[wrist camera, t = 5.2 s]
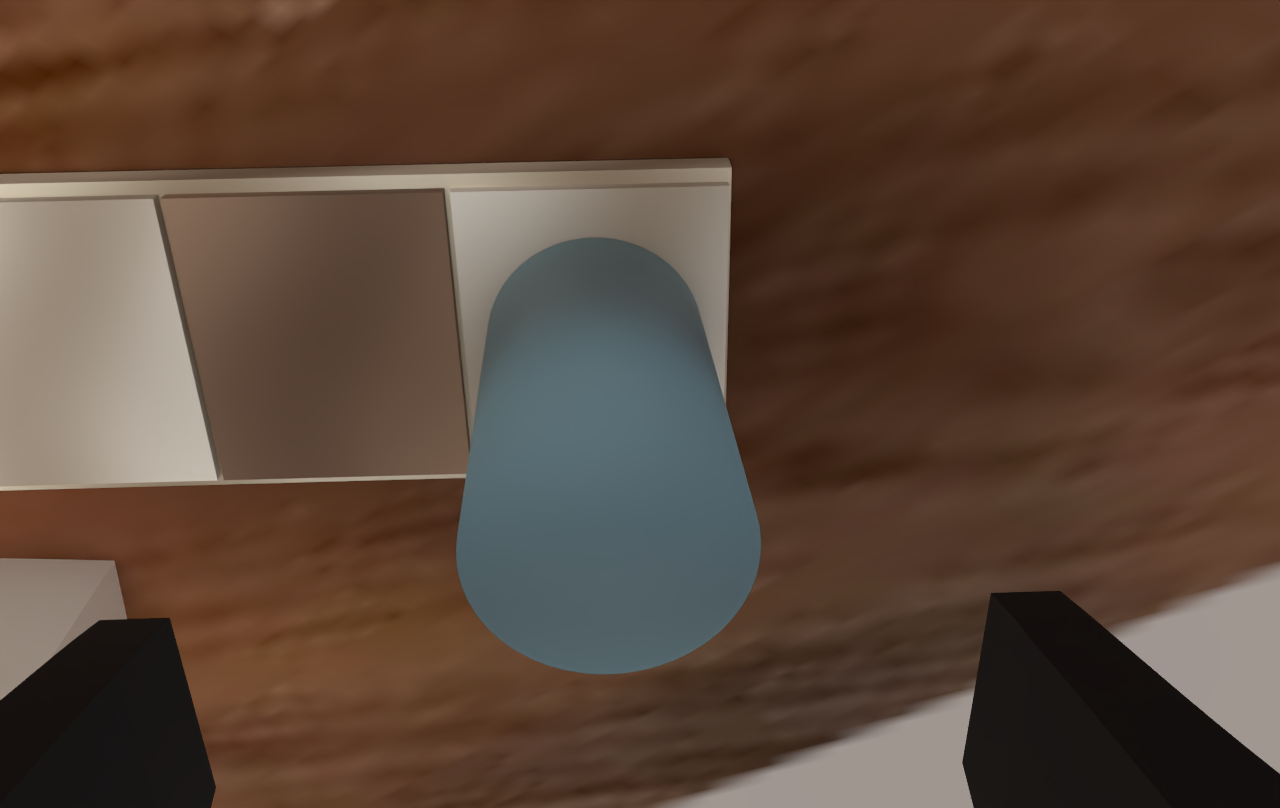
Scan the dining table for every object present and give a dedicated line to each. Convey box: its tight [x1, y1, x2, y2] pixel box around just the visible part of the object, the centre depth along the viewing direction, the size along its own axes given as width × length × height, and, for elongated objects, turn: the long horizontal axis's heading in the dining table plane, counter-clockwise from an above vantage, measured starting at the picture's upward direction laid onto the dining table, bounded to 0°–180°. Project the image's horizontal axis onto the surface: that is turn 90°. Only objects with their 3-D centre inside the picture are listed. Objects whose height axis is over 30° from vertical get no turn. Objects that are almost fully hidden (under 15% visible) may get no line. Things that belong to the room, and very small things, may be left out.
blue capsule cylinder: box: [456, 238, 761, 674], centre depth 14 cm, size 3×3×6 cm
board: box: [0, 158, 732, 491], centre depth 17 cm, size 16×5×1 cm, turn 91°
